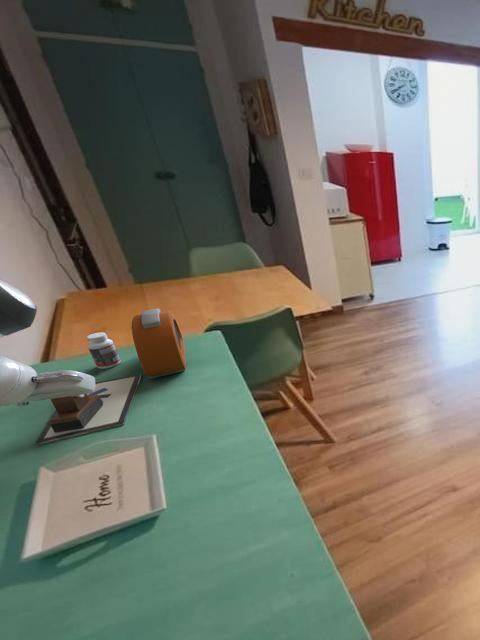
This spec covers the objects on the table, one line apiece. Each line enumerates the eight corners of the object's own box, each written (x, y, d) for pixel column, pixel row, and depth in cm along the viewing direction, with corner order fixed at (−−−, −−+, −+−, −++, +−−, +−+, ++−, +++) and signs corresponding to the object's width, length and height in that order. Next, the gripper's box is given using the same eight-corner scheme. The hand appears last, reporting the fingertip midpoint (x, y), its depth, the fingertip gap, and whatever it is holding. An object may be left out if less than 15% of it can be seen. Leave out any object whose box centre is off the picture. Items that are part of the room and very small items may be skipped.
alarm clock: (188, 375, 120) (169, 322, 113) (148, 384, 115) (126, 329, 108) (185, 344, 137) (169, 297, 129) (150, 351, 132) (131, 302, 125)
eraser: (83, 428, 97) (67, 395, 93) (54, 433, 95) (36, 400, 91) (103, 404, 105) (88, 374, 101) (76, 408, 103) (61, 377, 99)
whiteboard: (36, 445, 92) (34, 443, 92) (70, 389, 112) (69, 387, 112) (124, 424, 99) (123, 422, 99) (141, 375, 119) (140, 373, 119)
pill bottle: (93, 366, 123) (79, 336, 118) (115, 358, 127) (102, 329, 123) (103, 370, 121) (89, 340, 116) (125, 362, 125) (112, 333, 121)
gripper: (72, 358, 84) (112, 376, 97) (-70, 375, 77) (-7, 392, 90) (70, 388, 82) (111, 403, 95) (-75, 408, 76) (-11, 421, 88)
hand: (52, 398), depth 92 cm, fingers open, 8 cm apart
